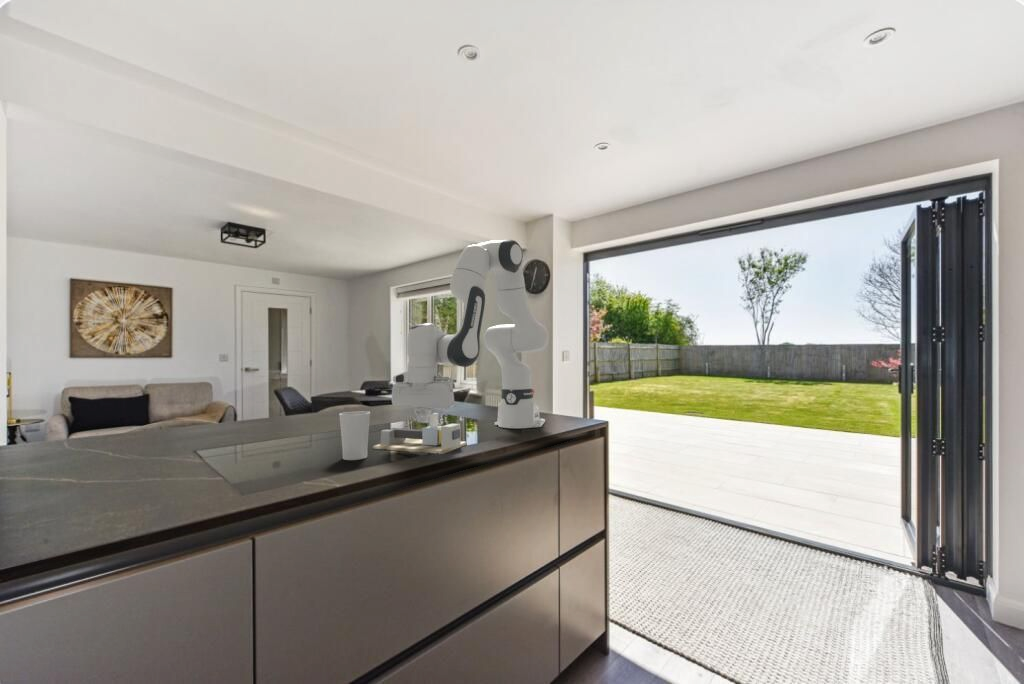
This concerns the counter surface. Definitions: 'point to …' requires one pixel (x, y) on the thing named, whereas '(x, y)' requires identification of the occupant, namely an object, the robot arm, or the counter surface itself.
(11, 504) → the counter surface
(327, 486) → the counter surface
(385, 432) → the light grey block
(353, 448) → the cup
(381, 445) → the board
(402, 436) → the dark grey bar
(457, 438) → the connector
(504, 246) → the robot arm
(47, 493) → the counter surface
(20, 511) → the counter surface
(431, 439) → the sleeve
